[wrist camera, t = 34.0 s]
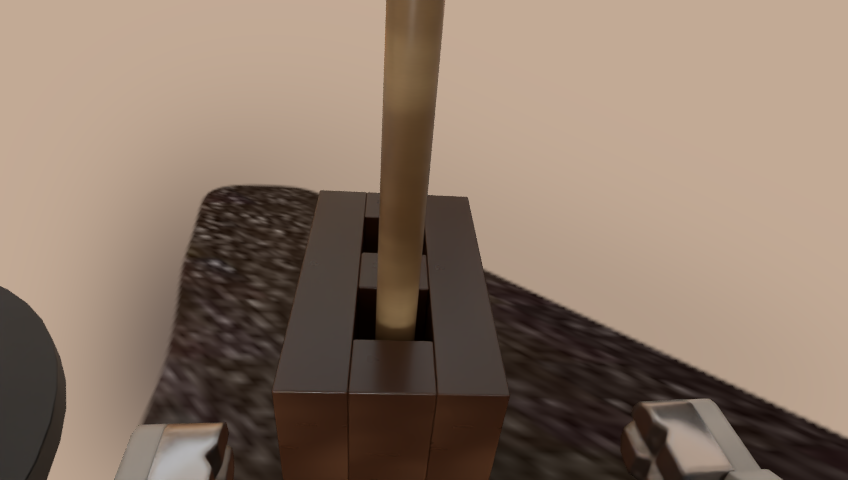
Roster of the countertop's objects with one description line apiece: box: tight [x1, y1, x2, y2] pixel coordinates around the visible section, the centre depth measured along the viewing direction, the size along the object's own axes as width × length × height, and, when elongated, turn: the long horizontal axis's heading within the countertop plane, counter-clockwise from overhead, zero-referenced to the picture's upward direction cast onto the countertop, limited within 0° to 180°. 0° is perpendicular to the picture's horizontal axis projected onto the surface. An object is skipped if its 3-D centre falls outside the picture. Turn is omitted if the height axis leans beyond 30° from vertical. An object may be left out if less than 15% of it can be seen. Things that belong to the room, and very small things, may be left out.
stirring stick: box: [375, 0, 445, 341], centre depth 20 cm, size 2×2×20 cm
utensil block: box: [272, 190, 510, 480], centre depth 26 cm, size 8×14×8 cm, turn 2°
